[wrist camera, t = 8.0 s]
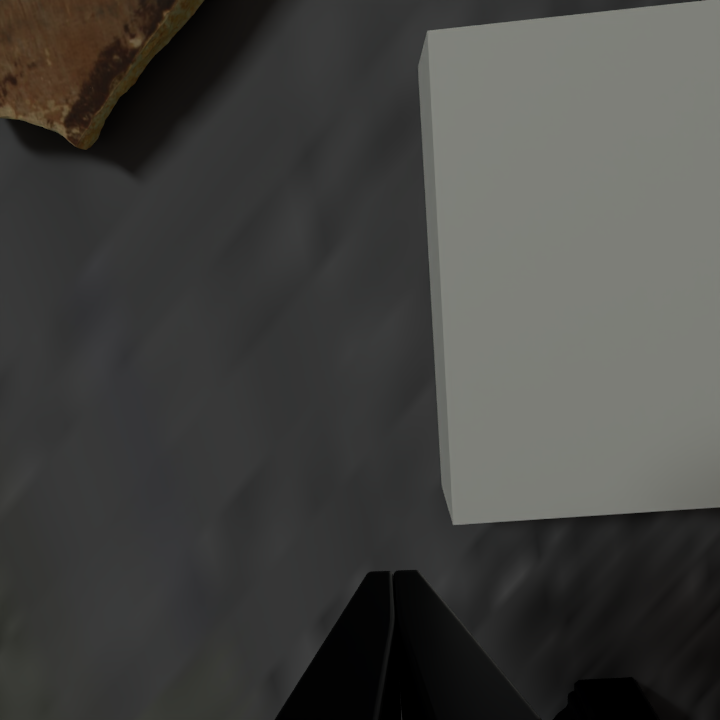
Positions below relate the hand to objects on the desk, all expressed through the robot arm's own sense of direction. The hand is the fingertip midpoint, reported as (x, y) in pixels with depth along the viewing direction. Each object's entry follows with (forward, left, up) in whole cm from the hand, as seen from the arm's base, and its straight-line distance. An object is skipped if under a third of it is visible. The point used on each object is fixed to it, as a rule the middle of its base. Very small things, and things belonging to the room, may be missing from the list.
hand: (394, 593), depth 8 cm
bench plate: (+4, -7, -12) cm, 14 cm away
